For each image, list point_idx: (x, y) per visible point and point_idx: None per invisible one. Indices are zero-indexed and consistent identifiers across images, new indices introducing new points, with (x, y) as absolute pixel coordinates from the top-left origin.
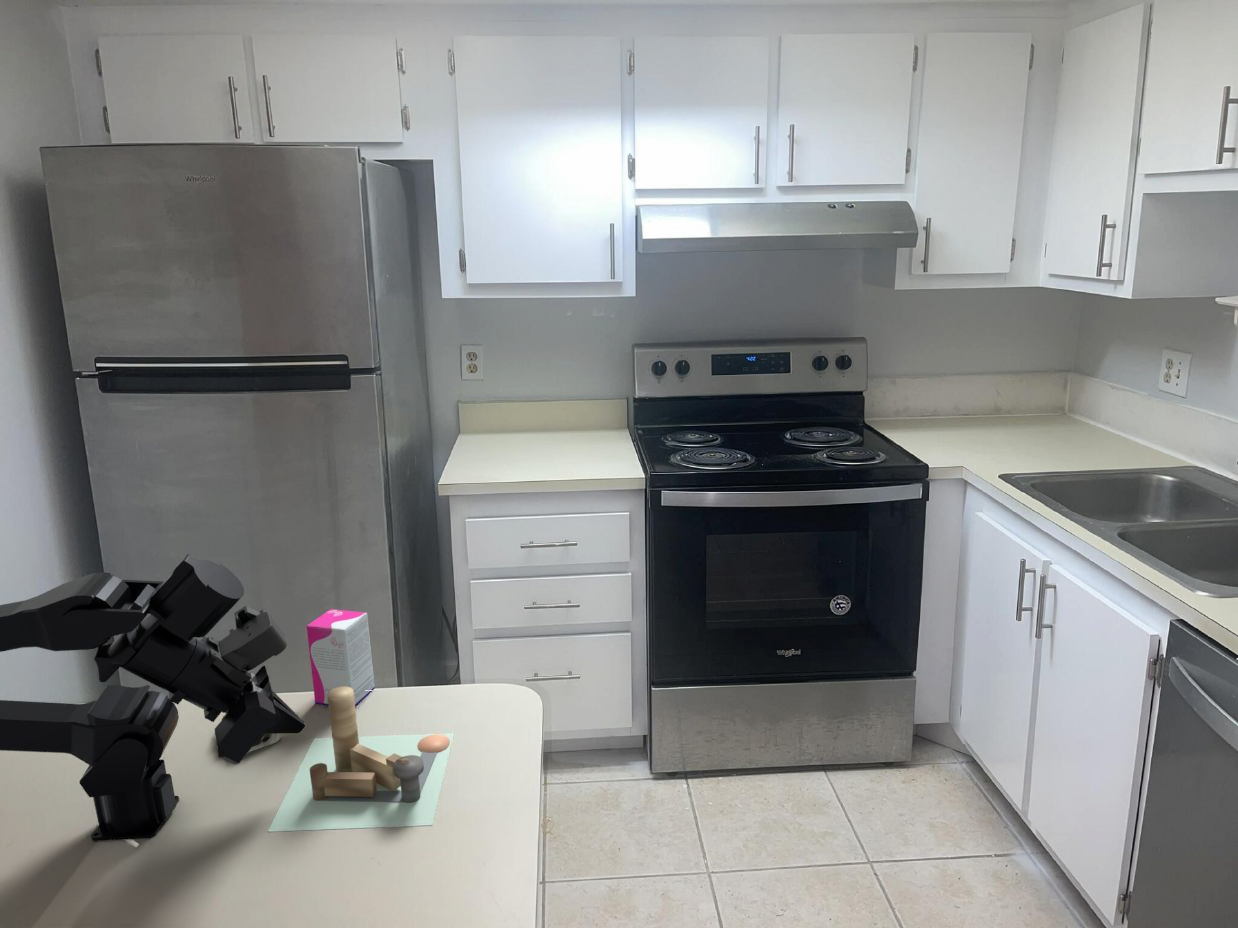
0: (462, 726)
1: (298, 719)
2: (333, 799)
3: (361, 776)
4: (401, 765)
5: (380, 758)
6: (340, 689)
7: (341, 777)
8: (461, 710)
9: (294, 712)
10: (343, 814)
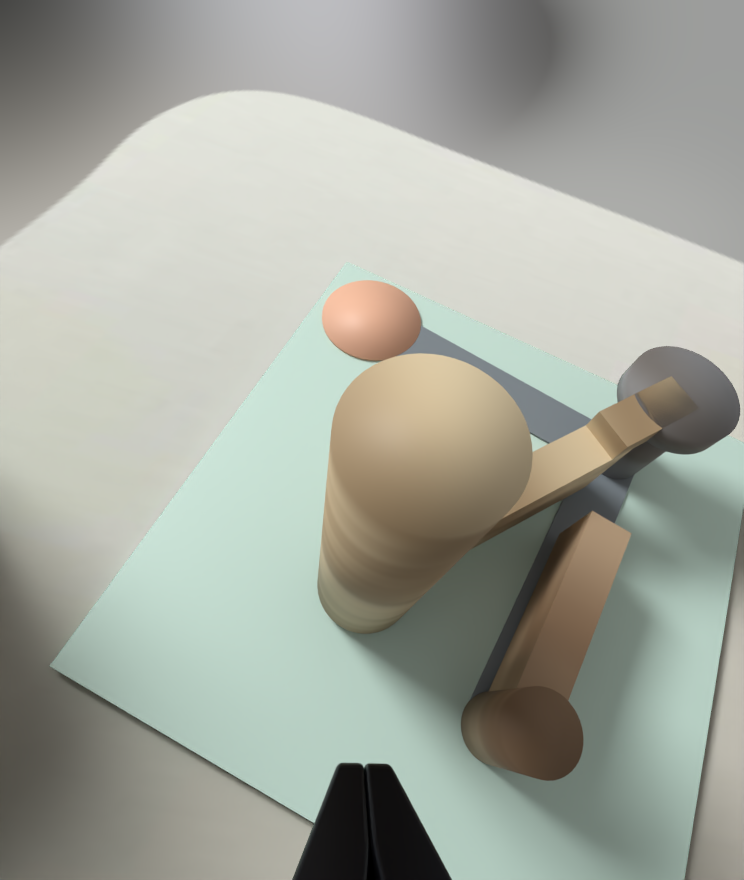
0: (313, 237)
1: (400, 826)
2: None
3: (601, 562)
4: (688, 414)
5: (561, 466)
6: (380, 424)
7: (580, 637)
8: (228, 211)
9: (311, 853)
10: (636, 673)
